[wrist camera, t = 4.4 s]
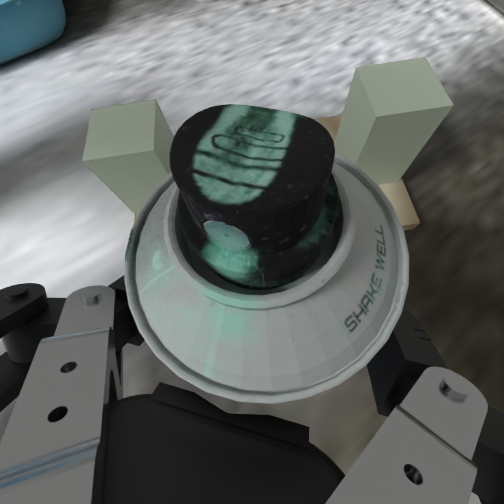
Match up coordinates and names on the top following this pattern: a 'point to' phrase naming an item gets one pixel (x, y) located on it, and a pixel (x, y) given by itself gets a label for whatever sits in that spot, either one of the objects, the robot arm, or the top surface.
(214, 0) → the coffee cup
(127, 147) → the sage pillars
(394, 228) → the spray can
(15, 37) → the casserole dish
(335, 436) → the top surface
